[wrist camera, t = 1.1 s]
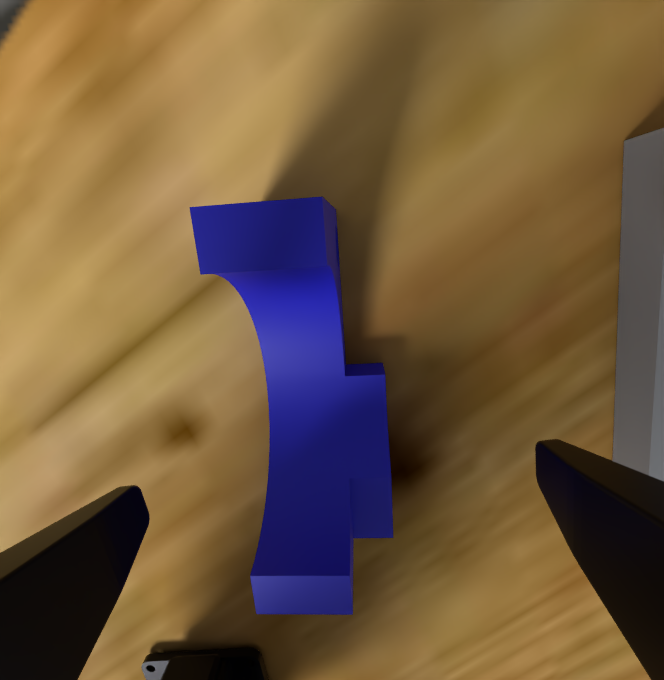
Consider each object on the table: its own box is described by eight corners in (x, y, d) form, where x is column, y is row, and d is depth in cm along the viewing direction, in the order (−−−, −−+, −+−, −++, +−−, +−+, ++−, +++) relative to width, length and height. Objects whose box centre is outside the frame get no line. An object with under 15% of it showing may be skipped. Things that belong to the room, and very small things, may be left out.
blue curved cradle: (387, 486, 17) (402, 615, 12) (288, 488, 18) (256, 614, 12) (377, 206, 14) (391, 191, 8) (256, 216, 14) (189, 207, 9)
